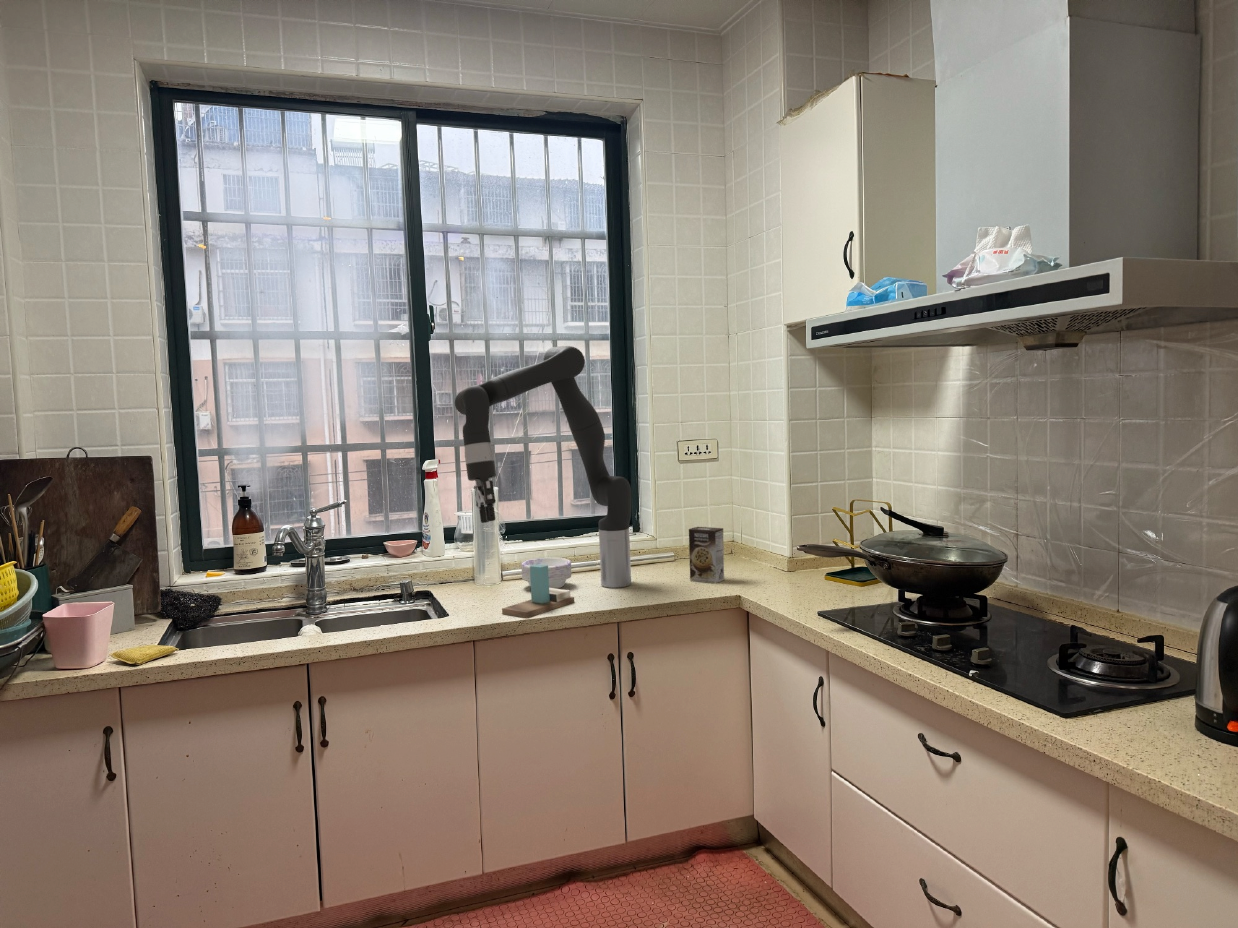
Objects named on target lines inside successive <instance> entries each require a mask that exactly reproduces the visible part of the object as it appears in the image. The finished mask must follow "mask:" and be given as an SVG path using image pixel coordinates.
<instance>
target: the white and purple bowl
mask: <svg viewBox="0 0 1238 928" xmlns="http://www.w3.org/2000/svg"><path fill="white" fill-rule="evenodd" d="M536 564H539V565H548V575H549V588H555V589H561V588H563V586H564V585H565V584H566V582H567V580H568V579H570V578H572V575H573V574H572V560H569V559H567V558H562V557H539V558H532V559H527V560H525V561H523V562H522V563H521V578H522V580H523V581H524V582H527V583H528V586H529V587H530V588H531V579H530V566H533V565H536Z"/></svg>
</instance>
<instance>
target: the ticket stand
mask: <svg viewBox="0 0 1238 928" xmlns="http://www.w3.org/2000/svg"><path fill="white" fill-rule="evenodd" d="M549 596H550V601H549V602H546V603H543V604H541V603H535V602H532V599H529V600H525V601H521V602H517V603H516V604H512V605H509V606H506V607H502V608H501V613H502V615H505V616H512V617H518V616H519V618H525V619H528V618H531V617H534V616H536V615H541V614H543V613H546V612H550V611H553V610H555V608H556V609H558V608H560V607H564V606H568V605H569V604H570V603H571V604H574V603H575V596H571V590H569V589H561V588H558V589H555V588H549ZM530 616H531V617H530Z"/></svg>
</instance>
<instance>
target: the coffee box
mask: <svg viewBox="0 0 1238 928" xmlns="http://www.w3.org/2000/svg"><path fill="white" fill-rule="evenodd" d="M688 547H689V548H688V549H689V551H688V552H689V557H688V558H689V581H690V582H700V583H709V584H717V583H719V582H722V581H724V580H725V558H724V556H725V555H724V554H725V551H724V528H723V527H708V526H694V527H692V528H689V529H688Z"/></svg>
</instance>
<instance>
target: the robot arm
mask: <svg viewBox="0 0 1238 928" xmlns="http://www.w3.org/2000/svg"><path fill="white" fill-rule="evenodd" d="M585 360H586V359H585V356H584V354H583V352H582V351H581V350H580V349H579V348H577V347H574V346H570V345H562V346H553V347H550V348H548V349H547V351H546V352H545V353H544V356H543V361H541V362H537V363H534V364H531V365H527V366H524V367H520V368H516V369H512V370H510V371H507V372H505V373H504V372H503V373H501V374H499V375H496V376H495V377H492V378H490V379H489V380H487V381H485V382H483V383H481V384H480V383H479V384H477V385H476V384H475V385H471V386H468V387H467V388H464V389H463V390H461V391H460V392H458V393H457V395H456V396H455V398H454V407H455V408H456V410H457V412H458V413H460V414H461V415H464V416H465V423H464V425H463V426H462V439H463V444H464V460H465V468H466V474H467V480H468V481H471V482H473V481H475V482H476V485H475V484H474V486H473V489H474V496H475V503H476V504H475V506H476V508H477V509H478V511H479V517H480V524H485V523H489V522H494V521H496V513H495V503H496V502H497V501H496V497H495V496H496V495H495V490H494V489H495V488H494V481H493V480H490V479H494V478H495V477H497V472H496V465H495V456H494V450H493V446H492V442H491V434H490V429H489V424H490V407H491V406H494V405H496V404H500V403H502V402H506V401H508V400H510V399H513V398H515V397H518V396H521V395H522V394H524V393H526V392H529V391H531V390H533V389H536V388H538V387H541V386H545V385H547V384H551V385H552V387H553V390H554V391H555V393H556V396H557V397H558V399H559V403H560V405H561V409H562V410H563V413H564V416H565V419H566V421H567V423H568V427H569V429H570V432H571V435H572V437H573V440H574V443H575V445H576V447H577V450H578V452H579V455H580V458H581V461H582V464H583V467H584V470H585V473H586V479H587V481H588V485H589V489H590V493H591V495H592V497H593V500H594V502H596V504H598V505H600V506H604V507H607V514H606V515H605V516H604V517H602V518H601V519H599V521H598V539H599V540H598V542H599V564H600V566H599V567H600V586H602V587H605V588H610V589H611V588H614V589H615V588H624V587H628V586H631V585H632V569H631V566H632V565H631V564H632V563H631V542H630V541H631V540H630V522H631V518H632V487H631V485H630V483H629V481H628V479H627V478H625V477H623V476H613V475H610V474H609V471H608V469H607V466H606V463H605V460H604V448H605V441H606V435H605V431H604V426H603V424H602V422H601V418H600V415H599V414H598V412H597V410H596V409H595V408H594V406H593V405H592V403H591V402H590V401H589V400H588V399H587V397H586V396H585V395H584V393H583V392H582V391H581V389H580V387H579V385H578V384H577V380H576V378H575V377H578V376H579V375H580V374H581V373H582V371H583V370H584V368H585V363H586V361H585Z"/></svg>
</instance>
